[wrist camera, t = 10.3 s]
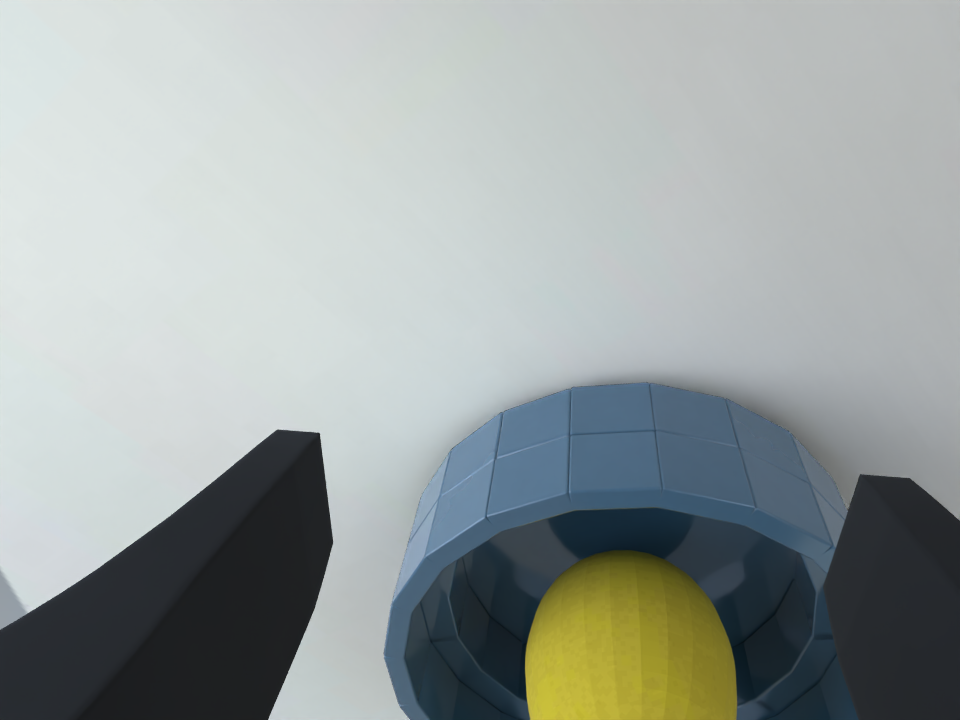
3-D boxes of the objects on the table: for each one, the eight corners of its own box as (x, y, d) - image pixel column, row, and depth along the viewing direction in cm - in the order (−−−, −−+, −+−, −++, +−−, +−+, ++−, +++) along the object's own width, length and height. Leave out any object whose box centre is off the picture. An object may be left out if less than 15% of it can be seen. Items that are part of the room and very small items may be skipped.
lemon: (739, 596, 24) (799, 868, 18) (579, 639, 26) (577, 899, 19) (672, 470, 22) (710, 723, 15) (502, 526, 24) (469, 776, 17)
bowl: (929, 575, 24) (1004, 722, 20) (598, 727, 30) (600, 867, 25) (659, 282, 20) (679, 387, 16) (338, 523, 26) (288, 647, 21)
